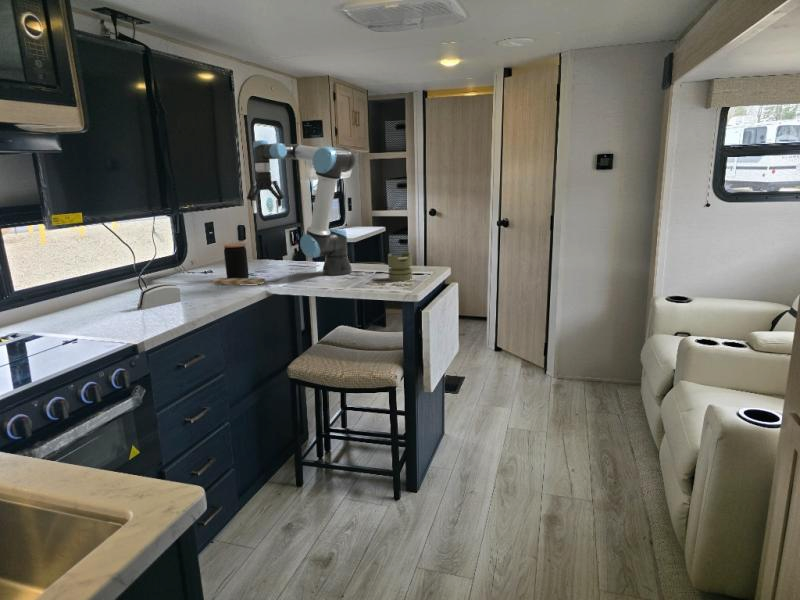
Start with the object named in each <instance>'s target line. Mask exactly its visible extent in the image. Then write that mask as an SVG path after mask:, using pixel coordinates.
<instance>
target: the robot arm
mask: <svg viewBox="0 0 800 600" xmlns="http://www.w3.org/2000/svg"><path fill="white" fill-rule="evenodd" d="M252 144H253V148H252V149H253V157H254V169H255V177H256V181H255V180H254V181H253V180H252V181H250V188H249V191H248V194H247V197H246V199H247V200H248V201H250V206H251V208H252V212H253V214H257V213H258V210H257V207H258V206H257V200H255V199H256V198H257V196H258V195H259V193H260V192H261V191H270V193H271V194H272V195H273V196H274V197H275V199H276V200H275V203H276V213H281V207H282V200H283V199H285V195H284V194H283V192H282V190H281V188H280V186H279V183H278V181H277V180H273V181H272V173H271V162H270V161H271V160H296V161H304V162H310V163H312V166H313V169H314V170H315V175H316V177H317V184H316V190H315V195H314V196H315V197H314V201H313V202H314V204H313V209H312V216H311V222H310V225H309V226H307V228H306V232H305V233H306V234H303V235H302V236H301V237H300V240H299V245H300V249H301V251H302V253H303V254H304V256H306V257H308V258H319V257H323V256H324V258H325V259H324V263H323V267H322V274H323V275H326V276H343V275H349V274H351V273H353V270H352V269H353V268H352V266H351V262H350V260H349V258H348V237H347V231H346V230H345V229H343V228H341V229H339V228H329V226H330V220H331V216H332V215H331V214H332V209H333V203H334V198H335V192H336V191H335V190H336V186H337V181H339V180H341V176H342V173H347V172H349V171H351V170H352V169H353V168H354V167H355V165H356V161H357V160H356V158H357V157H356V155H355V153H354V151H353V150H351V149H350V148H348V147H345V146H329V145H328V146H321V147H318V146H317V147H316V146H309V145H302V144H299V143H294V144H293V143H281V142H275V143H269V141H268V140H254V141H253V143H252ZM272 185H273V186H272ZM256 186H257V187H256Z"/></svg>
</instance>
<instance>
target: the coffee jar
mask: <svg viewBox="0 0 800 600" xmlns="http://www.w3.org/2000/svg"><path fill="white" fill-rule="evenodd" d="M223 247H224V249H223V252H224V253H223V255H224V263H225V272H226V274H225V275H226V278H250V275H249V267H248V266H249V265H248V255H247V253H248V252H247V248H246V243H245V242H231V243H225V244H223Z"/></svg>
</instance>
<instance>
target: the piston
mask: <svg viewBox="0 0 800 600" xmlns="http://www.w3.org/2000/svg"><path fill="white" fill-rule="evenodd" d="M412 256H413V255H412V253H410V252H402V253H401V255H400V256H399V257H398V255H393V254H392V253H388V254H387V261H388V262H387V263H388V264H387V265H388V280H389V281H392V282H406V281H405V280H408V281H411V280H413V260H412V259H413V257H412ZM410 279H411V280H410Z"/></svg>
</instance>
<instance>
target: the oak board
mask: <svg viewBox="0 0 800 600" xmlns="http://www.w3.org/2000/svg"><path fill="white" fill-rule="evenodd" d="M262 282H265V283H266V278H265V277H264V278H255V277H254V278H253V277H251V278H250V277H248V278H227V277H219V278H217V279H214V280H212V285H213V284H228V285H227V286H241V285H240V284H260V283H262ZM229 284H230V285H229Z"/></svg>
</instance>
